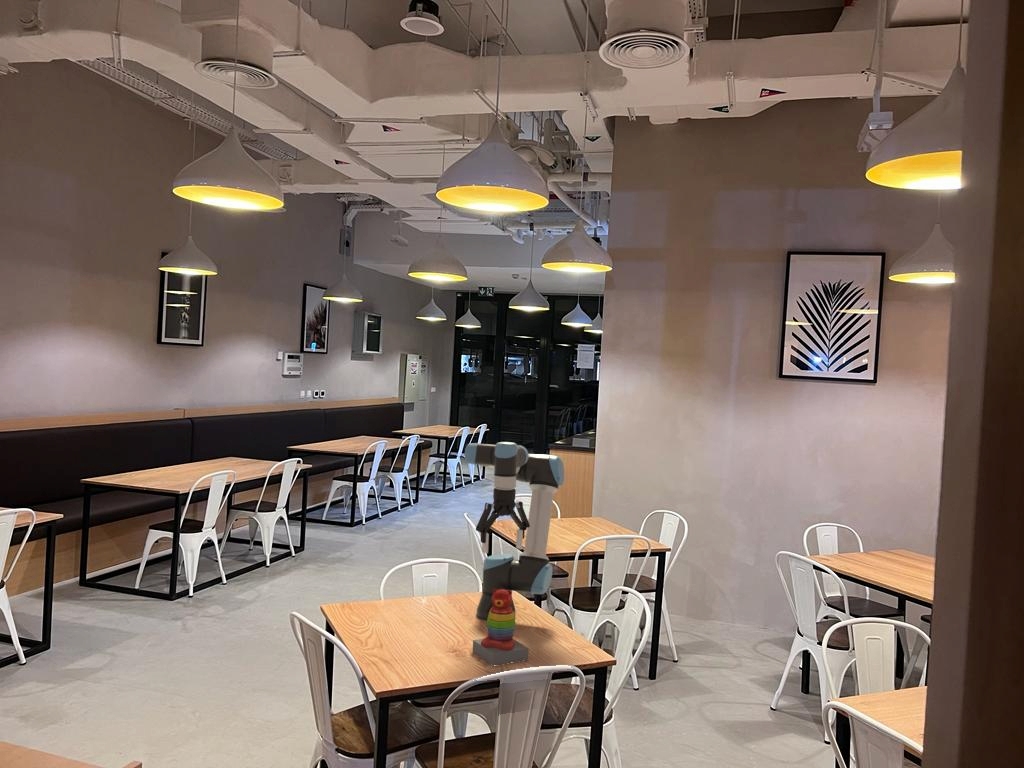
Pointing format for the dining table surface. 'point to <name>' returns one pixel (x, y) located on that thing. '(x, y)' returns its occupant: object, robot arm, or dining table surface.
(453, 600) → the dining table surface
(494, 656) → the grey block
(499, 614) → the stacking bear
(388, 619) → the dining table surface
